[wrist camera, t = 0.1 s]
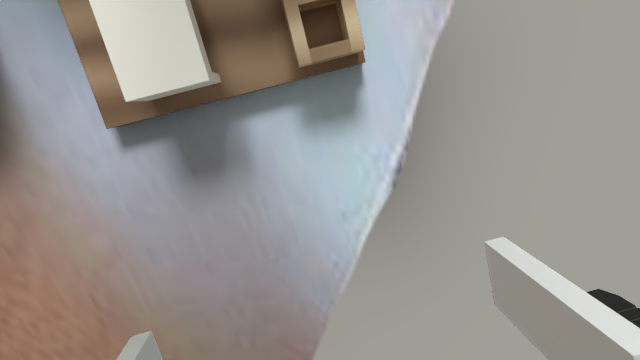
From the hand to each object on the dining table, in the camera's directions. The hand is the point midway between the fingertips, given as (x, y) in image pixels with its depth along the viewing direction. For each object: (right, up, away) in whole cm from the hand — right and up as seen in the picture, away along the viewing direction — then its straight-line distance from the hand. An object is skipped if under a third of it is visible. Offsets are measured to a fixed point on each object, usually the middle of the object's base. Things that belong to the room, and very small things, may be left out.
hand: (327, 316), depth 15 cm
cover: (-14, +18, +21) cm, 31 cm away
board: (-10, +20, +23) cm, 32 cm away
